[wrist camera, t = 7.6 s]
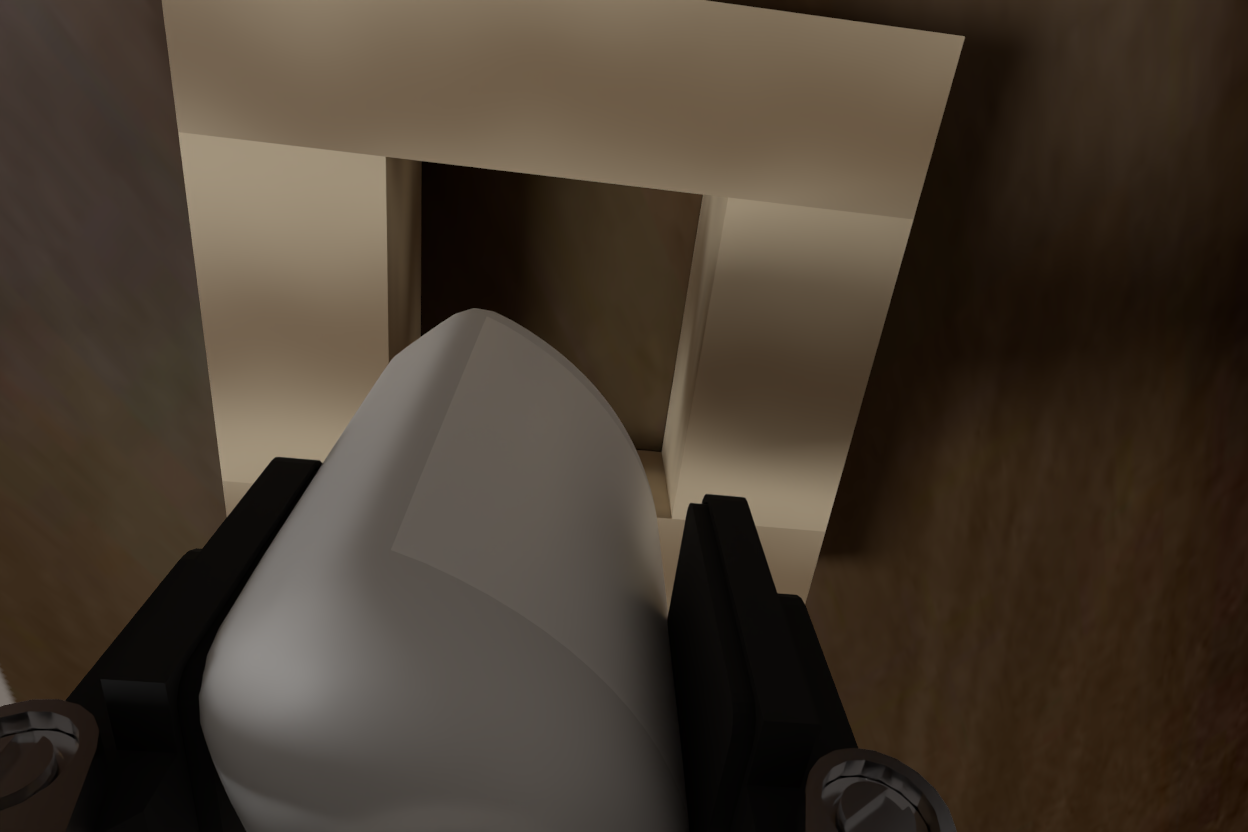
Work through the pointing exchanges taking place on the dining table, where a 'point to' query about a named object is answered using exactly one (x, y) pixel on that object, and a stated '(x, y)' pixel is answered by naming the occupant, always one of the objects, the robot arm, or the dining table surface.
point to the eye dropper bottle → (458, 615)
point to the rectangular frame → (568, 148)
